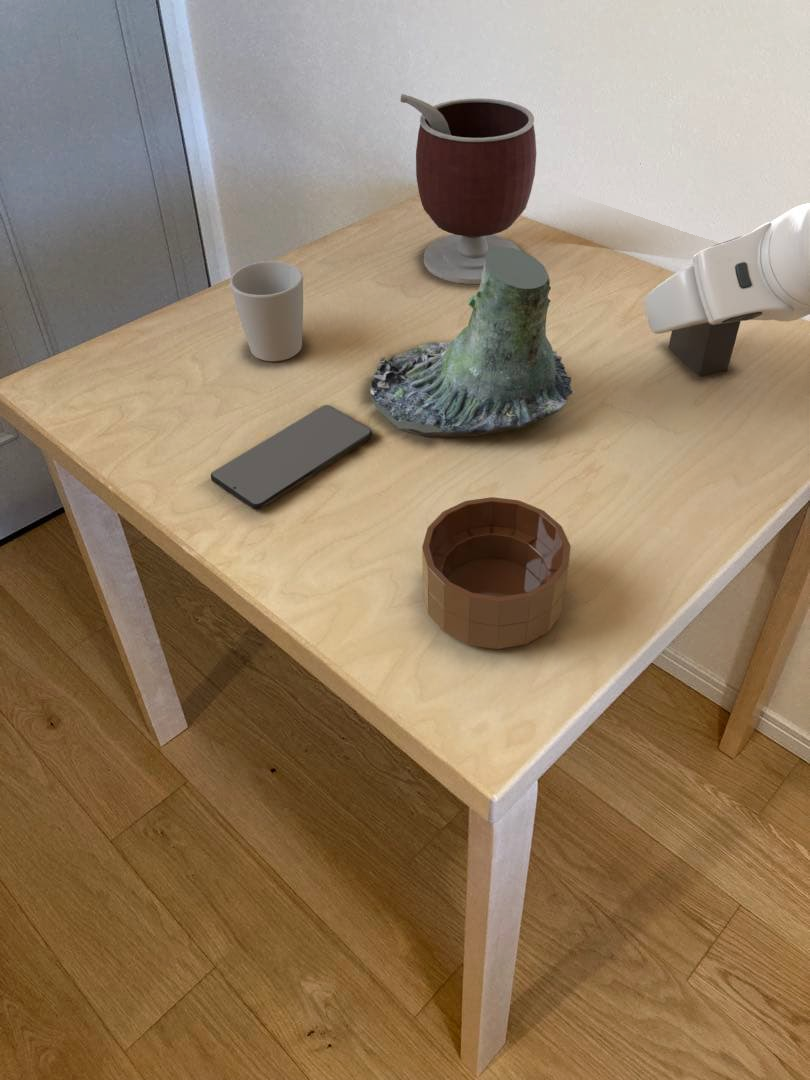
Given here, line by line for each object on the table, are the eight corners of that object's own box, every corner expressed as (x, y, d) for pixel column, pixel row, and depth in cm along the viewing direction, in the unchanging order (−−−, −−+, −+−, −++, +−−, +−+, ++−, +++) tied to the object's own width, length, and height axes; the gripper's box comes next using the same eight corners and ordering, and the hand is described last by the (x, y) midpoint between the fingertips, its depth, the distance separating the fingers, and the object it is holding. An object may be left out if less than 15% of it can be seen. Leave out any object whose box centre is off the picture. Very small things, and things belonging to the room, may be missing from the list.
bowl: (539, 542, 76) (545, 489, 72) (580, 640, 68) (589, 587, 64) (412, 561, 75) (411, 508, 71) (439, 663, 67) (440, 611, 63)
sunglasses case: (696, 341, 98) (713, 264, 92) (727, 369, 94) (748, 291, 88) (668, 347, 97) (684, 271, 91) (698, 376, 93) (718, 298, 87)
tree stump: (418, 330, 102) (459, 181, 89) (574, 410, 98) (641, 268, 85) (335, 409, 90) (368, 251, 77) (510, 504, 86) (577, 355, 73)
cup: (240, 370, 96) (227, 298, 90) (243, 321, 103) (232, 252, 97) (311, 365, 96) (303, 293, 90) (309, 317, 104) (302, 247, 98)
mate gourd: (518, 232, 118) (530, 67, 104) (536, 284, 108) (551, 109, 94) (401, 238, 117) (396, 73, 103) (408, 291, 107) (404, 117, 93)
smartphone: (374, 430, 86) (255, 506, 79) (375, 437, 87) (257, 514, 79) (325, 402, 90) (206, 473, 82) (326, 409, 90) (208, 480, 83)
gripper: (880, 212, 81) (784, 264, 95) (684, 253, 77) (612, 301, 90) (897, 280, 81) (799, 322, 95) (702, 324, 77) (628, 362, 90)
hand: (706, 312), depth 92 cm, fingers open, 8 cm apart
